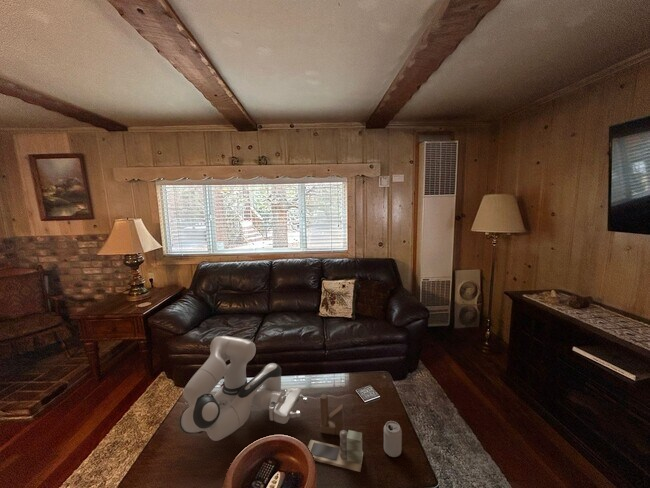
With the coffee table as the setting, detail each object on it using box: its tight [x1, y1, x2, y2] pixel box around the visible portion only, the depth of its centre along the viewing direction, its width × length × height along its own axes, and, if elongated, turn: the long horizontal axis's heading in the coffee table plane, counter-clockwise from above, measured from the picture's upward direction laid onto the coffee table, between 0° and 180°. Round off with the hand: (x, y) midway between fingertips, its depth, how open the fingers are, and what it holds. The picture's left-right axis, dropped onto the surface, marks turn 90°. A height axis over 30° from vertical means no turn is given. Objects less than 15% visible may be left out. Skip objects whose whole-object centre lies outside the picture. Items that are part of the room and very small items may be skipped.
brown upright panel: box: [319, 393, 345, 436], centre depth 125 cm, size 4×11×18 cm, turn 80°
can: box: [383, 420, 403, 458], centre depth 115 cm, size 8×8×12 cm
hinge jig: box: [307, 429, 364, 473], centre depth 113 cm, size 24×8×12 cm, turn 74°
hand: (303, 407), depth 129 cm, fingers open, 8 cm apart
